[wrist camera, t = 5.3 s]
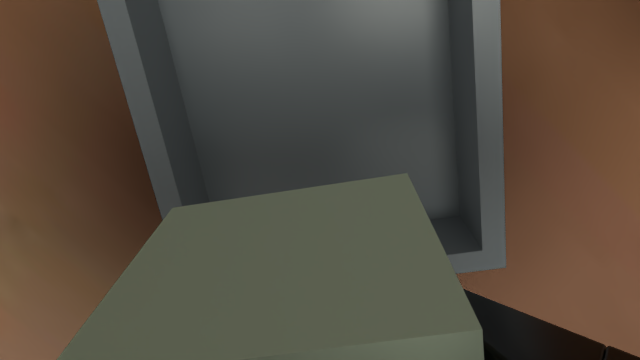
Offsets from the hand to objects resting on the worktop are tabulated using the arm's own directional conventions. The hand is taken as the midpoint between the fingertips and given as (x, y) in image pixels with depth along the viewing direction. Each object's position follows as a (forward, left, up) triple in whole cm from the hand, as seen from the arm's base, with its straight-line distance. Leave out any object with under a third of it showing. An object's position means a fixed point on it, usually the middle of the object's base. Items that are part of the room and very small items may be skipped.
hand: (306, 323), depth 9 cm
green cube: (0, 0, -1) cm, 1 cm away
